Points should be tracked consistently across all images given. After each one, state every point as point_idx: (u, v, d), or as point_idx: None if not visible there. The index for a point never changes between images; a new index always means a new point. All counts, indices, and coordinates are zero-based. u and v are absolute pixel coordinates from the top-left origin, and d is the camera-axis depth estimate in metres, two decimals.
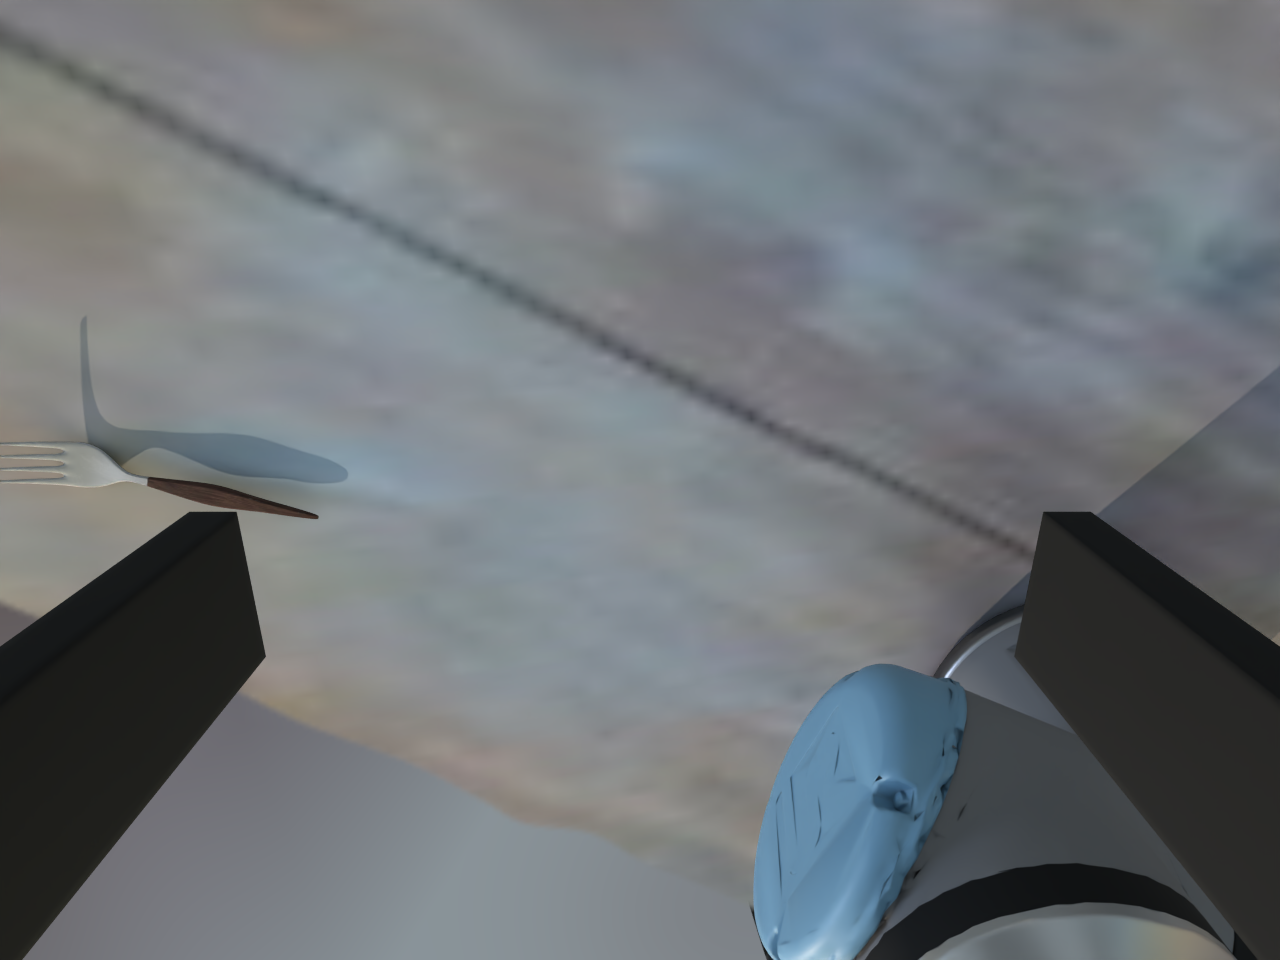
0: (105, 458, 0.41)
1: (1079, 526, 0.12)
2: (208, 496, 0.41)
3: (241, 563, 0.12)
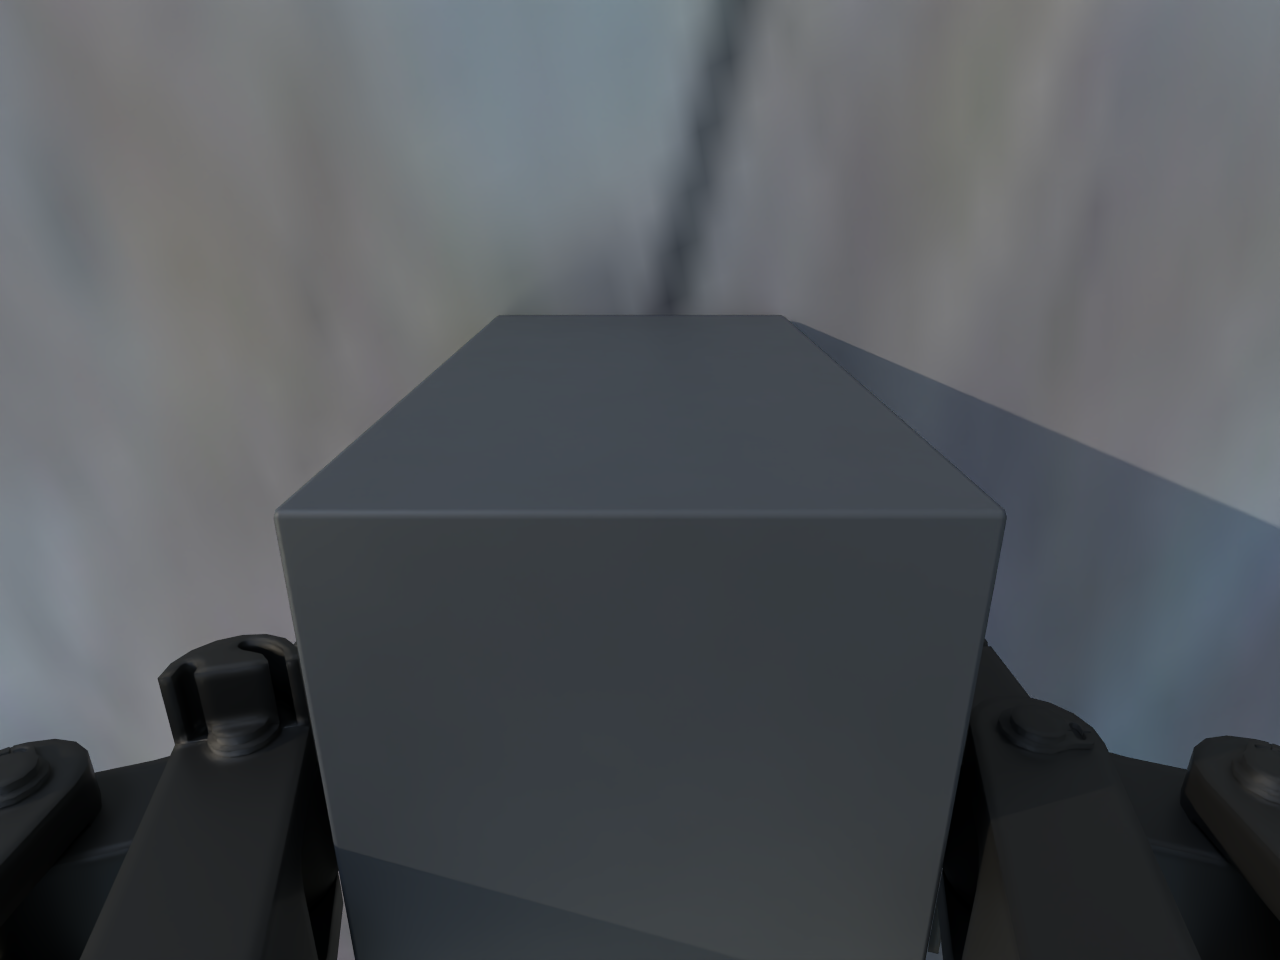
0: None
1: None
2: None
3: None
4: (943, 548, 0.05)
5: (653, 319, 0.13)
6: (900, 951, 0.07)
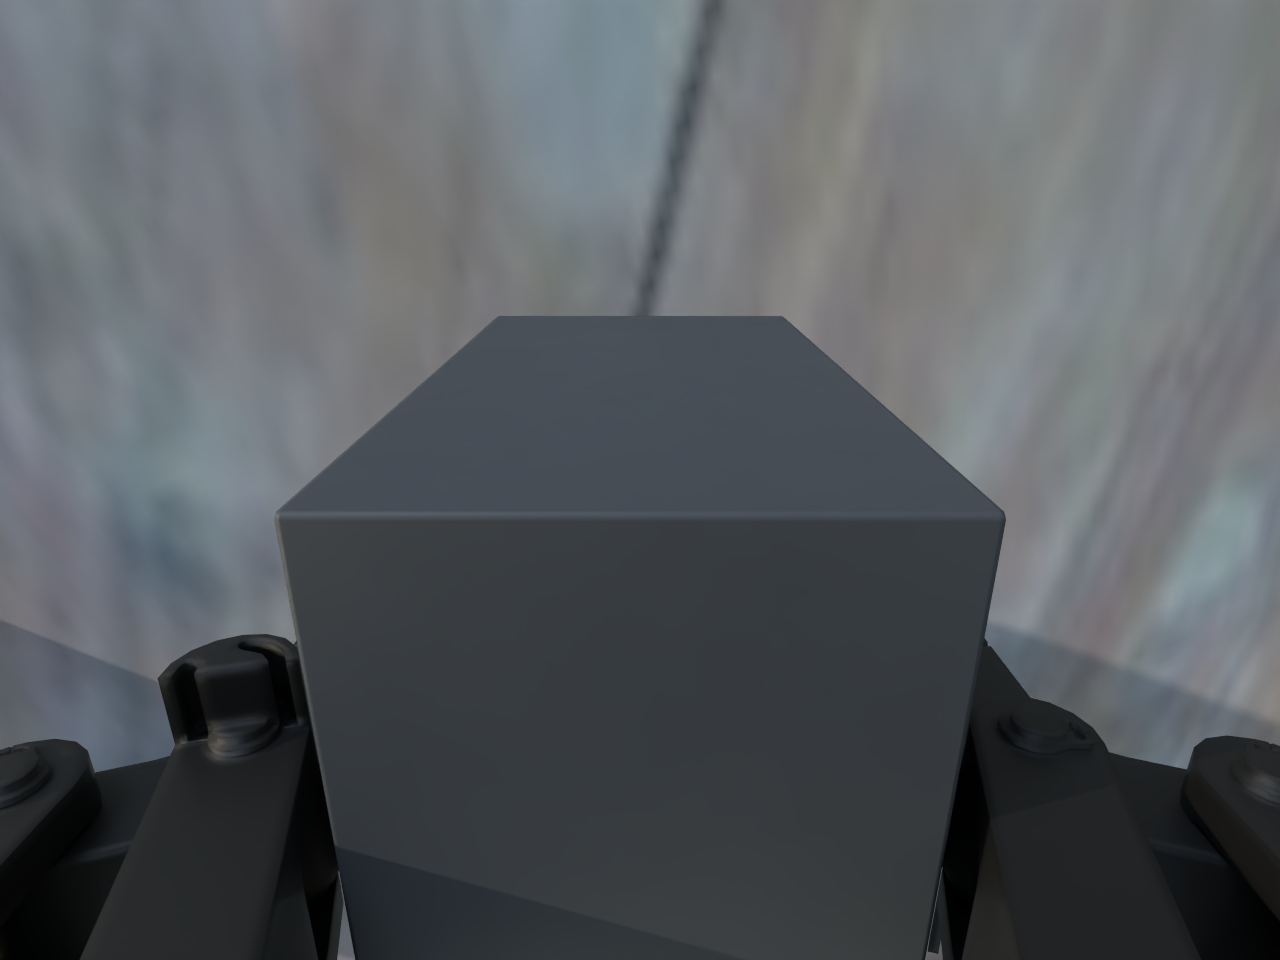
0: None
1: None
2: None
3: None
4: (943, 549, 0.05)
5: (653, 320, 0.13)
6: (899, 952, 0.07)
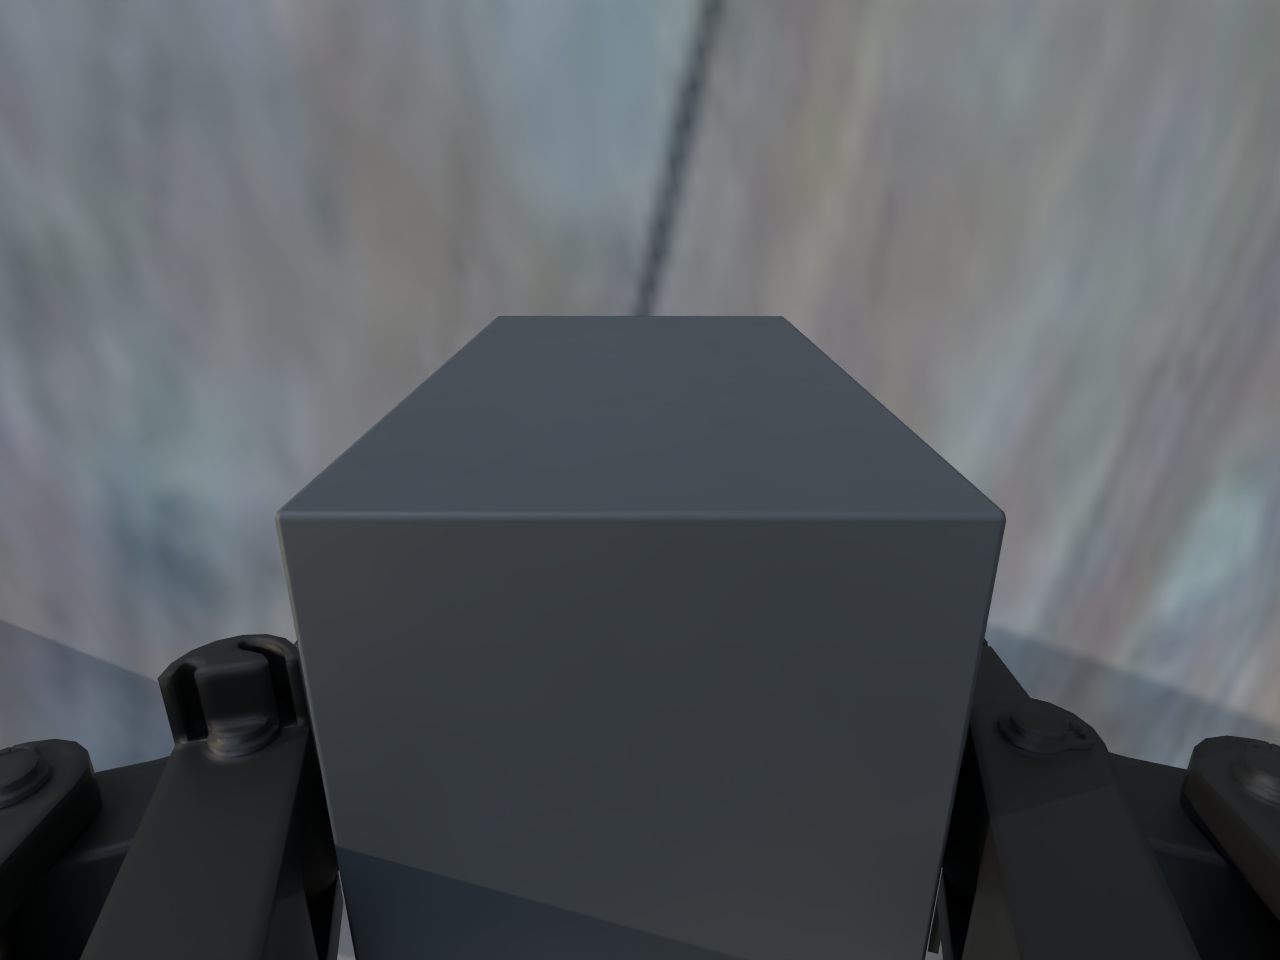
0: None
1: None
2: None
3: None
4: (942, 551, 0.05)
5: (653, 320, 0.13)
6: (900, 952, 0.07)
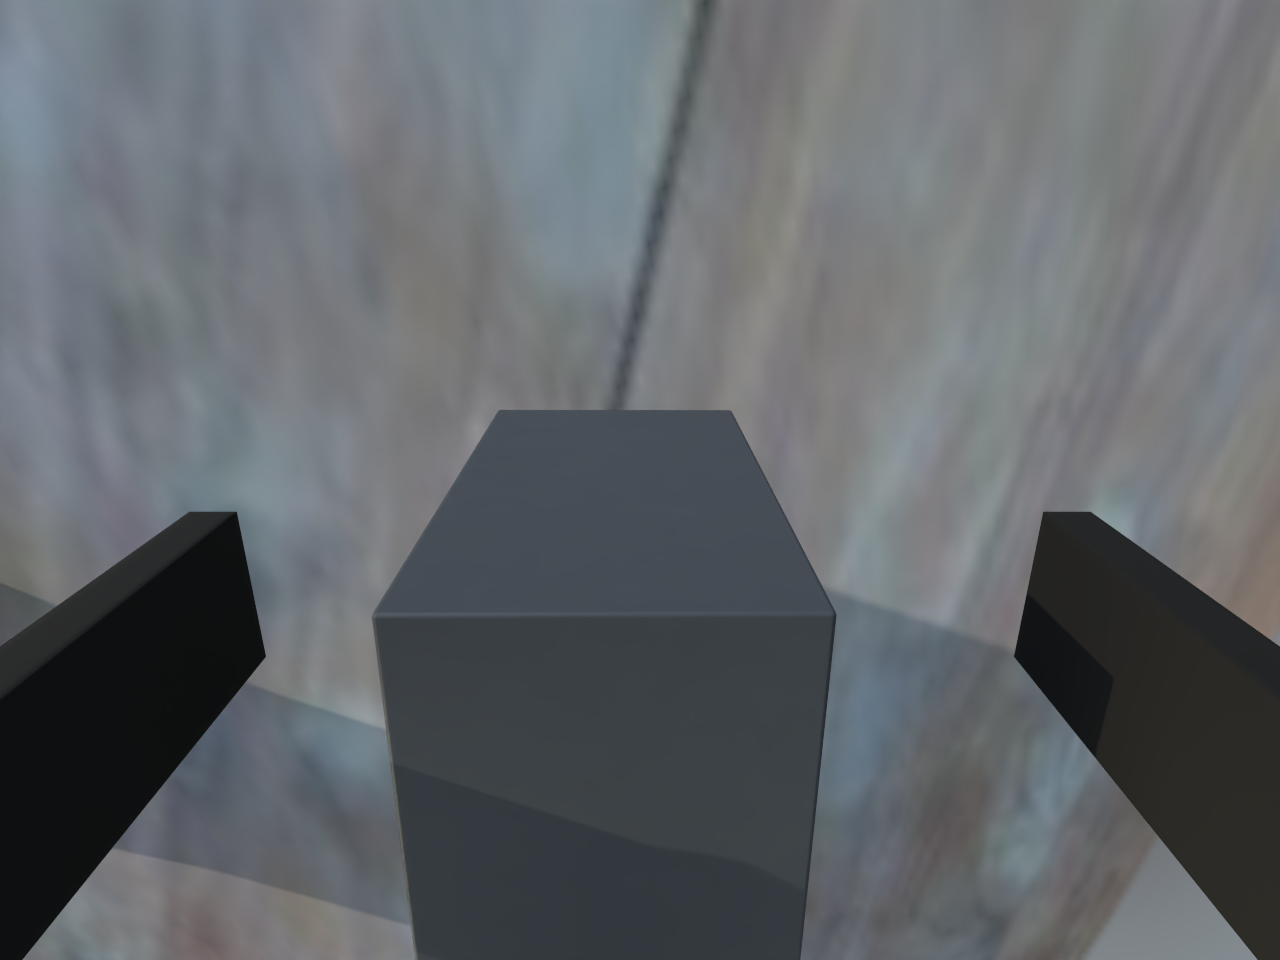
0: None
1: (1079, 526, 0.12)
2: None
3: (241, 563, 0.12)
4: (797, 635, 0.09)
5: (625, 415, 0.16)
6: (787, 903, 0.10)
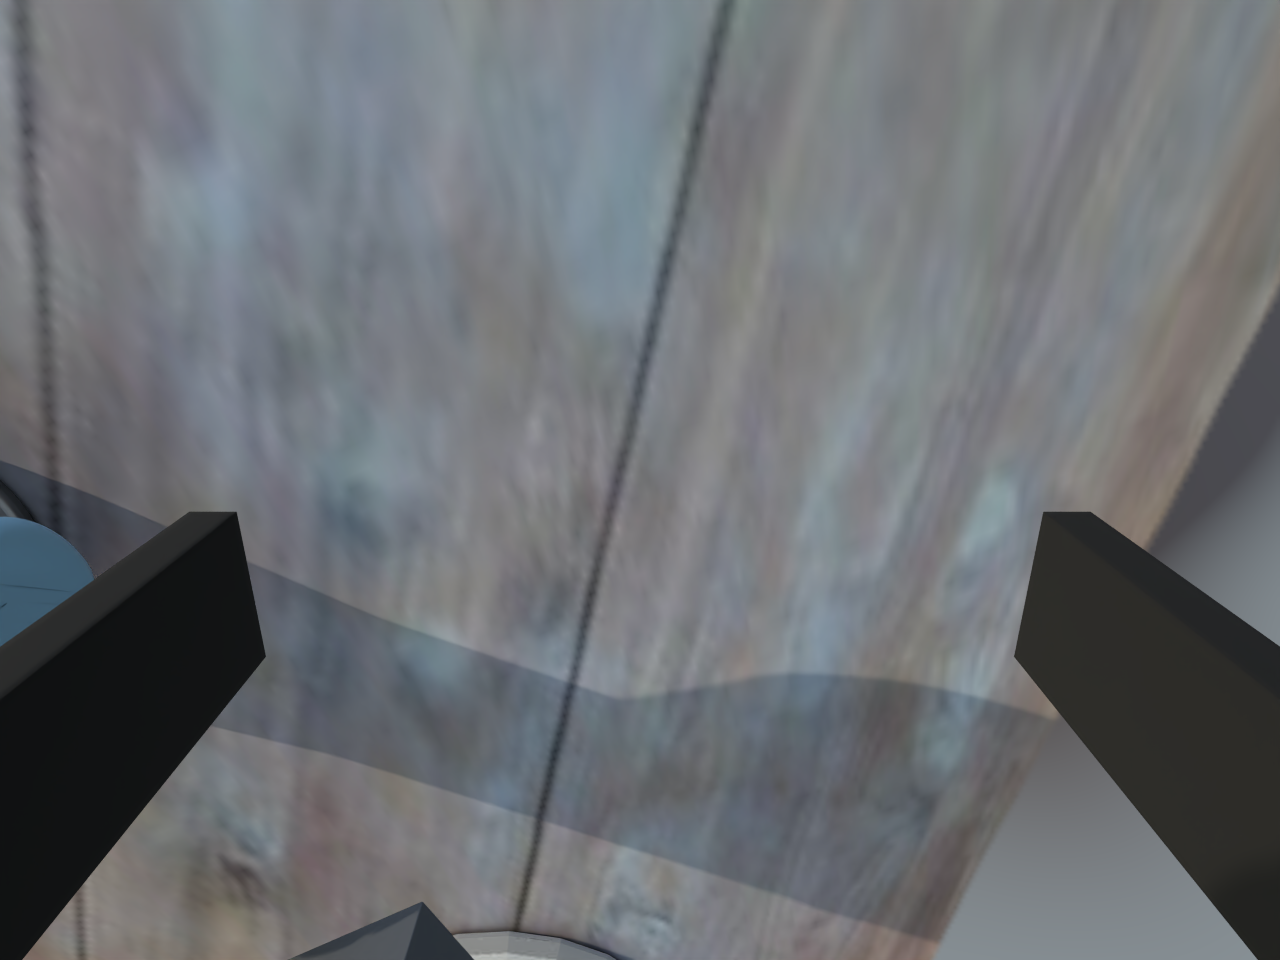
0: None
1: (1079, 526, 0.12)
2: None
3: (241, 563, 0.12)
4: None
5: (452, 946, 0.38)
6: None
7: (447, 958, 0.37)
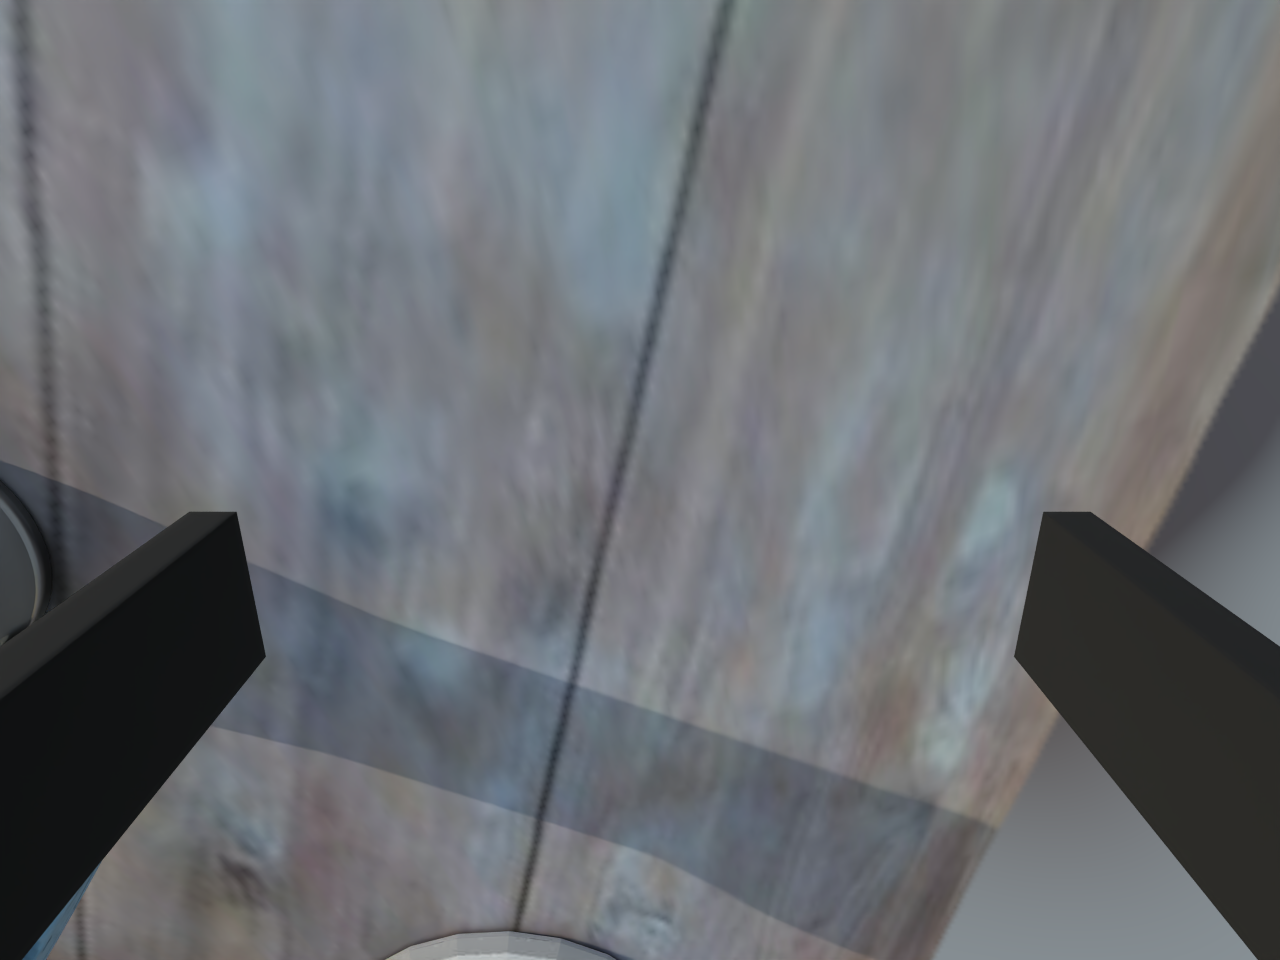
0: None
1: (1079, 526, 0.12)
2: None
3: (241, 563, 0.12)
4: None
5: None
6: None
7: None
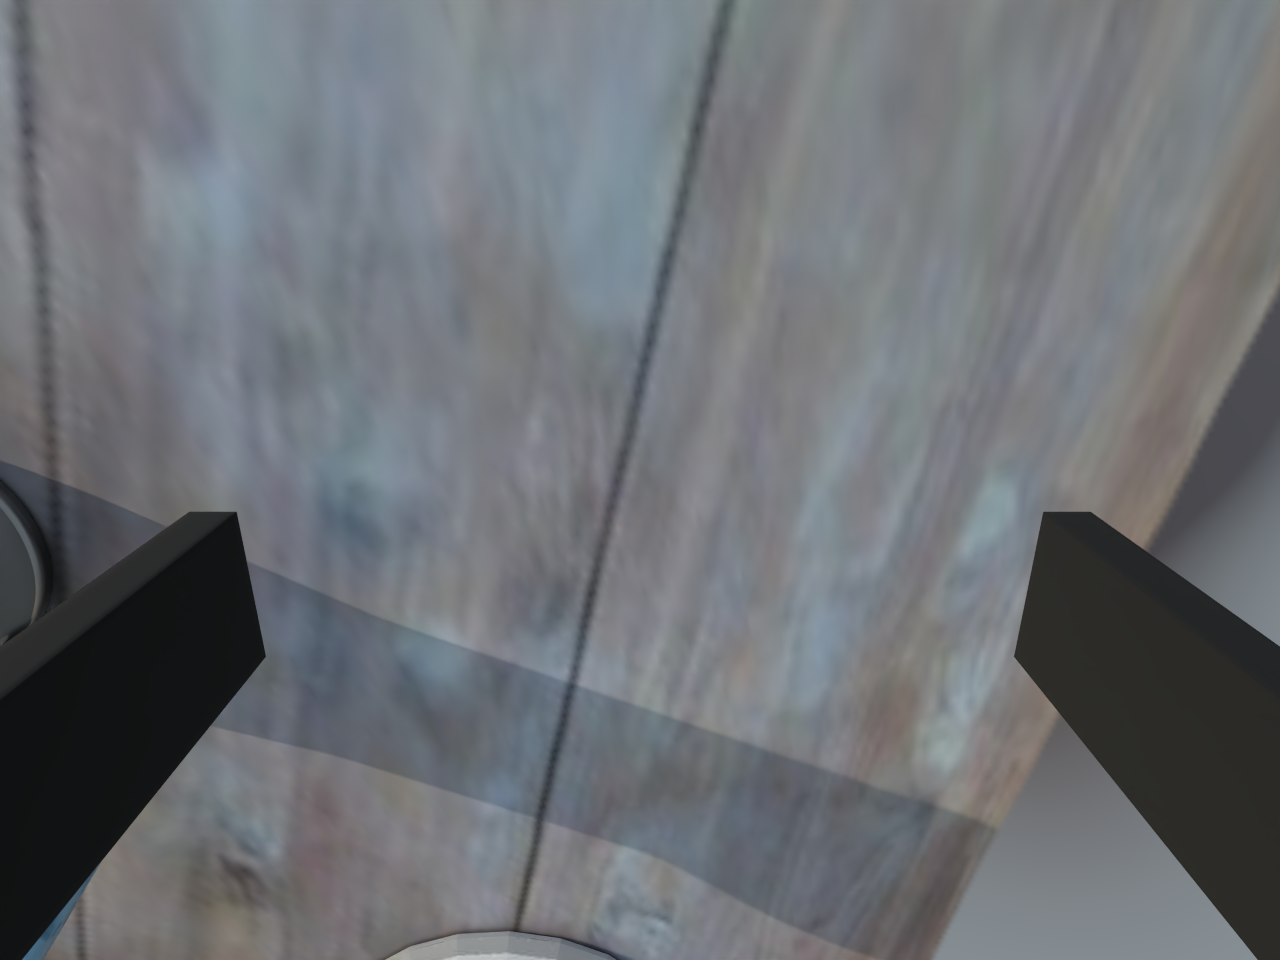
0: None
1: (1079, 526, 0.12)
2: None
3: (241, 563, 0.12)
4: None
5: None
6: None
7: None
